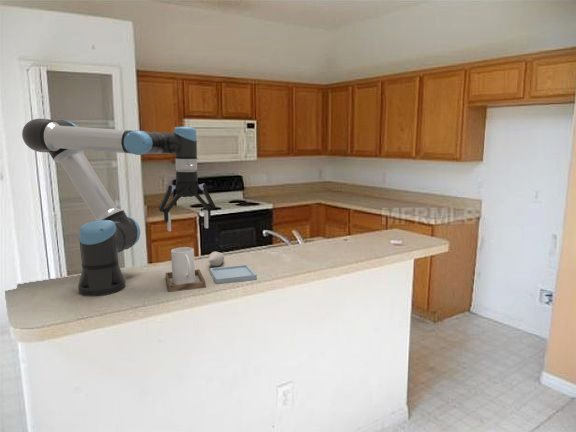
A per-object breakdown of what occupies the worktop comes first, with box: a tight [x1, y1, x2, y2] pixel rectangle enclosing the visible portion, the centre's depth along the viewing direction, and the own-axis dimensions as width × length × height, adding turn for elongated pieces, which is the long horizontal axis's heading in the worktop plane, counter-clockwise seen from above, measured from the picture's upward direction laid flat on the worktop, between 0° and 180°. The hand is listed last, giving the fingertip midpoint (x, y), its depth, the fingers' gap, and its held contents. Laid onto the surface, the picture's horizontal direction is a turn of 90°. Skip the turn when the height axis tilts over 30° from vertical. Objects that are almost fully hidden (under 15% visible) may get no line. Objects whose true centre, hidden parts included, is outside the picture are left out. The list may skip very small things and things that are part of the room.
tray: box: [209, 264, 258, 285], centre depth 162 cm, size 15×15×2 cm
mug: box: [170, 246, 197, 285], centre depth 154 cm, size 12×8×12 cm
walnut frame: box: [165, 268, 207, 293], centre depth 155 cm, size 13×17×2 cm
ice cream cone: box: [207, 251, 225, 267], centre depth 175 cm, size 6×6×15 cm
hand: (188, 229), depth 155 cm, fingers open, 13 cm apart
